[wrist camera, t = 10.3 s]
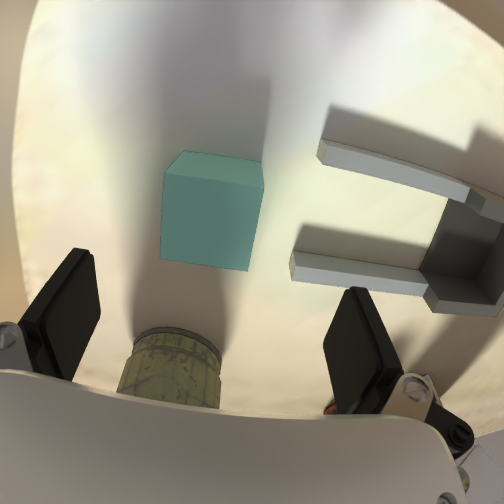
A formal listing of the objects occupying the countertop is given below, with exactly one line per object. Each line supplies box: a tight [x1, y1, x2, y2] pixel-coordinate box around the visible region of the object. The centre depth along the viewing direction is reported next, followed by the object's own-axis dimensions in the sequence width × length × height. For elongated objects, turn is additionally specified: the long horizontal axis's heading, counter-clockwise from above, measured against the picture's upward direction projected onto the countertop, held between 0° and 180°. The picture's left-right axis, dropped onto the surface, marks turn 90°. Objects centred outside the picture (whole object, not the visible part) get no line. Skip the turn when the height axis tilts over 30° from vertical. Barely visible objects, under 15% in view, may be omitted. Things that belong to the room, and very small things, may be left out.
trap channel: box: [289, 139, 504, 317], centre depth 21 cm, size 19×9×4 cm, turn 80°
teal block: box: [160, 151, 264, 271], centre depth 19 cm, size 5×5×5 cm
